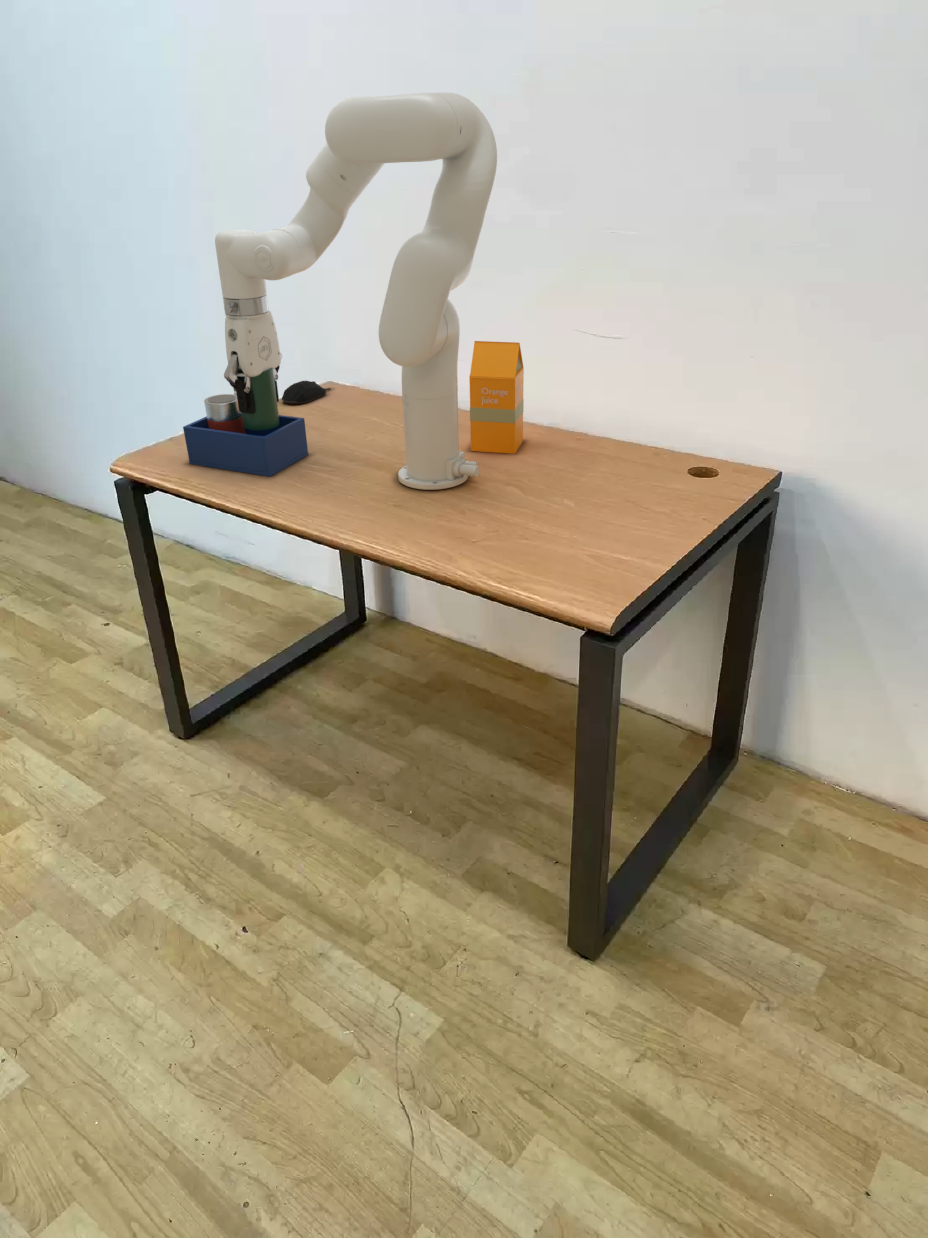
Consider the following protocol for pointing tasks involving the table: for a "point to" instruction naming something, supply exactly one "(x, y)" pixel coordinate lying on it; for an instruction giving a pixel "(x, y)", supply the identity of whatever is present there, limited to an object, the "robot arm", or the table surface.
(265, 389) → the green can
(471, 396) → the orange juice
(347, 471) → the table surface
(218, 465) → the blue storage box
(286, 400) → the gaming mouse
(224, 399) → the silver can
